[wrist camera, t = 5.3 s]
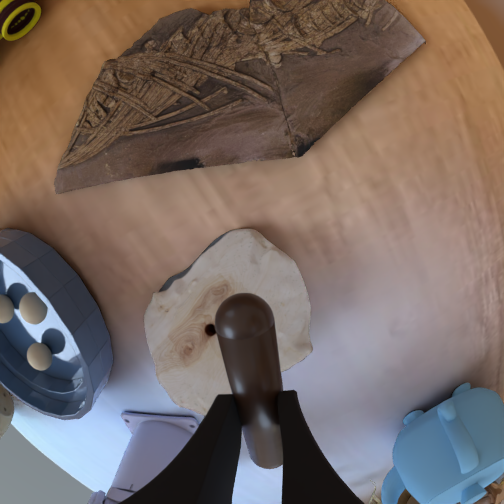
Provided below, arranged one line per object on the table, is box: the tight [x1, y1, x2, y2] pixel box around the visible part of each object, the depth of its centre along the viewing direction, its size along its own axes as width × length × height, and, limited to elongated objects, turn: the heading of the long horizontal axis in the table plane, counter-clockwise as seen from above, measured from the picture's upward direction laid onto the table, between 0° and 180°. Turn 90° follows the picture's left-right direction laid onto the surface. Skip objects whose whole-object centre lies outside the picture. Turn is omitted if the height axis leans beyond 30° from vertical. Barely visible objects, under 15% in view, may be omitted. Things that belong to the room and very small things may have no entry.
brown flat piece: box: [54, 0, 426, 194], centre depth 15 cm, size 26×11×1 cm, turn 110°
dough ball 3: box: [27, 343, 52, 371], centre depth 22 cm, size 3×3×3 cm
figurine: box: [457, 472, 504, 504], centre depth 18 cm, size 10×7×15 cm
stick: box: [215, 293, 283, 469], centre depth 11 cm, size 10×2×2 cm, turn 8°
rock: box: [144, 229, 313, 416], centre depth 19 cm, size 11×4×12 cm
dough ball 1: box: [0, 294, 14, 323], centre depth 20 cm, size 3×3×3 cm
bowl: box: [0, 228, 113, 420], centre depth 20 cm, size 17×17×4 cm
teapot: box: [381, 383, 504, 504], centre depth 18 cm, size 15×14×11 cm
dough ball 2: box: [19, 292, 48, 324], centre depth 20 cm, size 3×3×3 cm
